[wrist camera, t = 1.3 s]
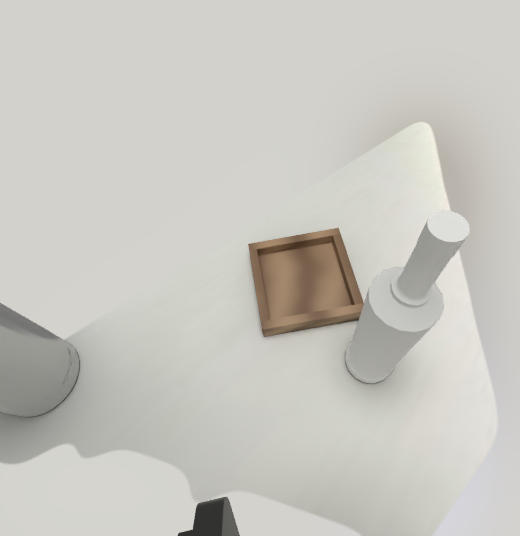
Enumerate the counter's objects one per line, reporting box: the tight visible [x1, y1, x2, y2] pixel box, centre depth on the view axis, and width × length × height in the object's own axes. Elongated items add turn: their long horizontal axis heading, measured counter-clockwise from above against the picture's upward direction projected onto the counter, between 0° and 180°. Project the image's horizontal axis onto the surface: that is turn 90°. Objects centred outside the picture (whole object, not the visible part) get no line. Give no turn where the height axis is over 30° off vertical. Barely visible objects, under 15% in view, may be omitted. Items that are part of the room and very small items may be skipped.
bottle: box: [345, 211, 470, 383], centre depth 29 cm, size 5×5×25 cm
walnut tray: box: [248, 228, 364, 337], centre depth 44 cm, size 12×12×2 cm
